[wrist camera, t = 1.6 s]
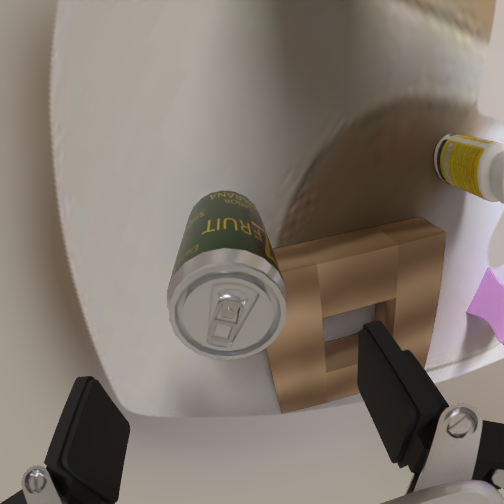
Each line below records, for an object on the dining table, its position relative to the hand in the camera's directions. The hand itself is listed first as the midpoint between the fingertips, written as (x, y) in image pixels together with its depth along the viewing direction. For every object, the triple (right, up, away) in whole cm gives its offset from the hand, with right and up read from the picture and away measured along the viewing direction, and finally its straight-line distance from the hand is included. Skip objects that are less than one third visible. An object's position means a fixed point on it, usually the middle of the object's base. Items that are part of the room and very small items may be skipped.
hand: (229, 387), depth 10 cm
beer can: (-1, +7, +14) cm, 16 cm away
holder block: (+10, -1, +18) cm, 21 cm away
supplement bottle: (+19, +13, +13) cm, 26 cm away
